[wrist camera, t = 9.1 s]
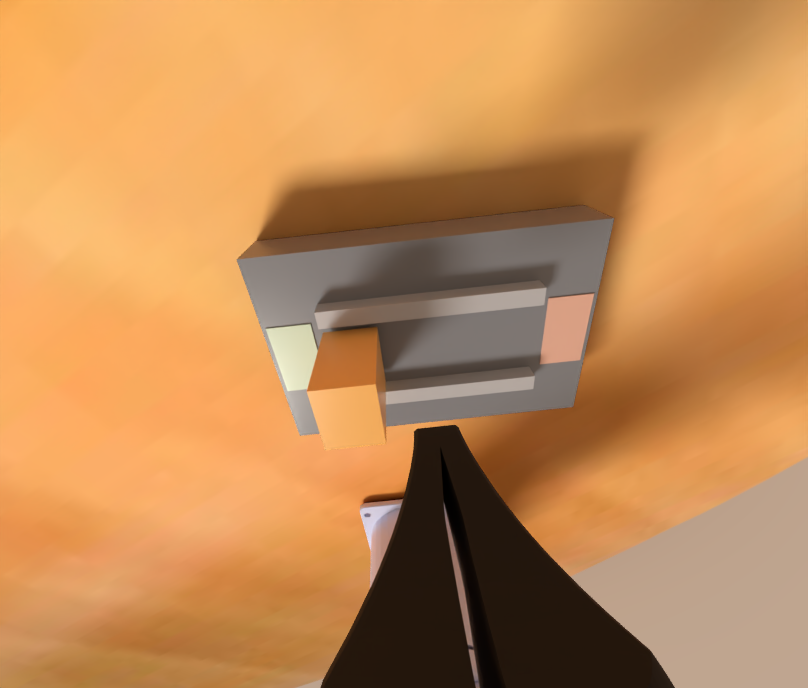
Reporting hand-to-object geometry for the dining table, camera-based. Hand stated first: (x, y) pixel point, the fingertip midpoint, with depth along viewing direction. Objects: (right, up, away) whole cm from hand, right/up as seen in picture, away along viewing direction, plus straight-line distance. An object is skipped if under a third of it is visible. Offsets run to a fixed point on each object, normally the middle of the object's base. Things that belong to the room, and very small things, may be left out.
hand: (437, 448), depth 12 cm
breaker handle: (-3, +3, +5) cm, 6 cm away
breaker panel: (0, +5, +7) cm, 9 cm away
